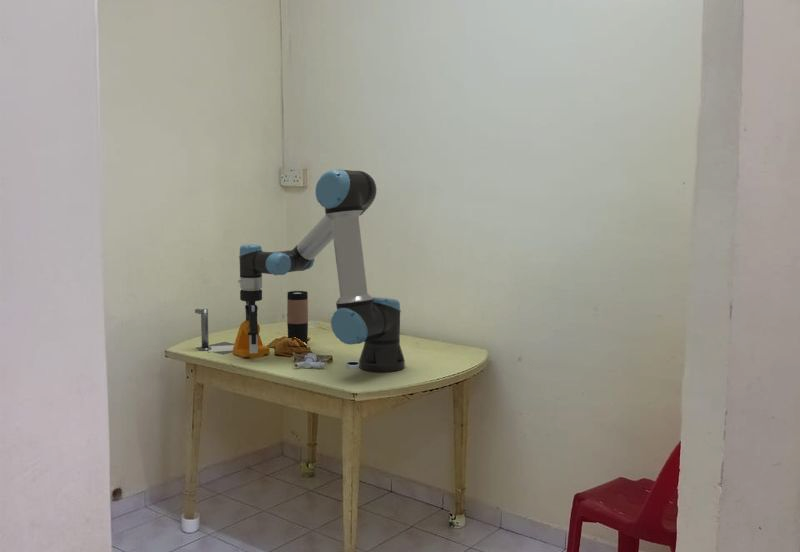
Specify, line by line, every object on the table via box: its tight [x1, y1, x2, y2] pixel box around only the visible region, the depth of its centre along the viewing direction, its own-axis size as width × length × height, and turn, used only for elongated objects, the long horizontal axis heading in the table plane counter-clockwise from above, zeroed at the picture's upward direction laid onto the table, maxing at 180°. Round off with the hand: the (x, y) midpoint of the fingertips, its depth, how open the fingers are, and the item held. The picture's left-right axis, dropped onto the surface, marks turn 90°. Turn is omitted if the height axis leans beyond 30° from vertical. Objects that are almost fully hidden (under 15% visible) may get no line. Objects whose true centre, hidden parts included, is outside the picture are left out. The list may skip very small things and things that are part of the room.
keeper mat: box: [194, 341, 235, 355], centre depth 260 cm, size 16×17×1 cm
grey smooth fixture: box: [194, 308, 212, 352], centre depth 257 cm, size 7×4×15 cm
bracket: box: [232, 319, 270, 359], centre depth 250 cm, size 11×7×12 cm, turn 132°
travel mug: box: [286, 290, 309, 345], centre depth 268 cm, size 8×8×20 cm
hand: (251, 349), depth 251 cm, fingers open, 13 cm apart
